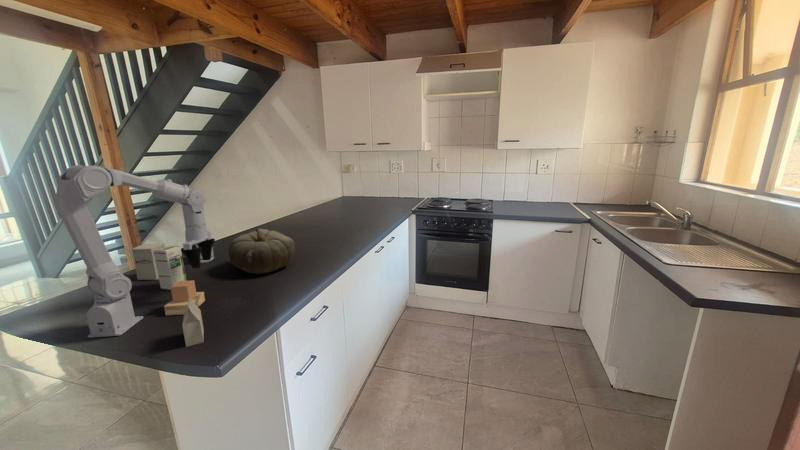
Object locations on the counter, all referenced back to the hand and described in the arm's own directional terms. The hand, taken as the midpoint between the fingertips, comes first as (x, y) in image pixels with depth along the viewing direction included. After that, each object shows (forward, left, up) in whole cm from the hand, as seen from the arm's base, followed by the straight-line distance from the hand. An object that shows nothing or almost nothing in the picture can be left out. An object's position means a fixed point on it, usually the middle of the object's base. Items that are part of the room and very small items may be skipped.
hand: (201, 263), depth 106 cm
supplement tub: (+35, +17, -11) cm, 40 cm away
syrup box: (+7, +14, -11) cm, 19 cm away
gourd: (+22, -14, -11) cm, 28 cm away
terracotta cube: (-11, +1, -7) cm, 13 cm away
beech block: (-11, +1, -10) cm, 15 cm away
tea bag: (-29, -10, -11) cm, 32 cm away
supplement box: (+18, +27, -11) cm, 34 cm away
